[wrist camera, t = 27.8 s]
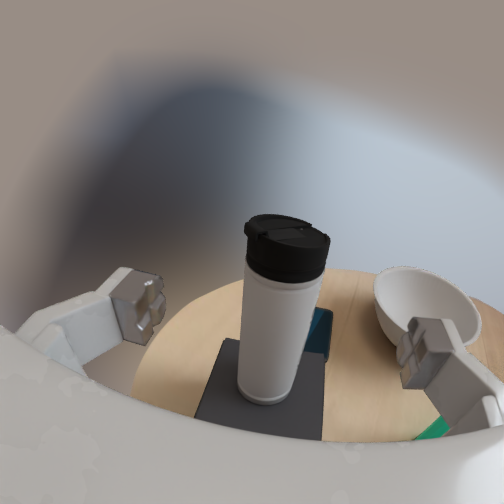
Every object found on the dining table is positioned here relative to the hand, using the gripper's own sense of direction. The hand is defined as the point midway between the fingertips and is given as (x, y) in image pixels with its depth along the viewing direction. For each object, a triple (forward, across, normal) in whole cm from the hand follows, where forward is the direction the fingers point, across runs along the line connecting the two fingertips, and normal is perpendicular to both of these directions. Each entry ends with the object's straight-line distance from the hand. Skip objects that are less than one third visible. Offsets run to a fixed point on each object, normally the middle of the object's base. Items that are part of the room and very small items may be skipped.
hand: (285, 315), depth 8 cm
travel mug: (+12, +1, +22) cm, 25 cm away
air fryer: (+12, 0, +34) cm, 36 cm away
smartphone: (+35, -7, +34) cm, 49 cm away
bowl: (+38, -31, +34) cm, 60 cm away
